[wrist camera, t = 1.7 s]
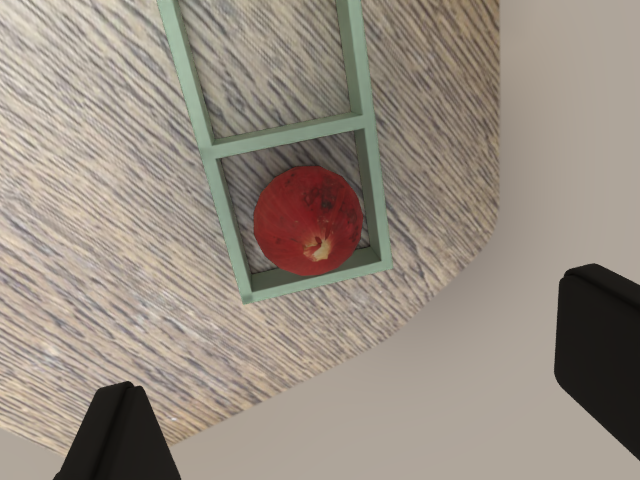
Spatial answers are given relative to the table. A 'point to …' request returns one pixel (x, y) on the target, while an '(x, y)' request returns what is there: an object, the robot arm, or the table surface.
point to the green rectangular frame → (357, 120)
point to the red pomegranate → (308, 220)
